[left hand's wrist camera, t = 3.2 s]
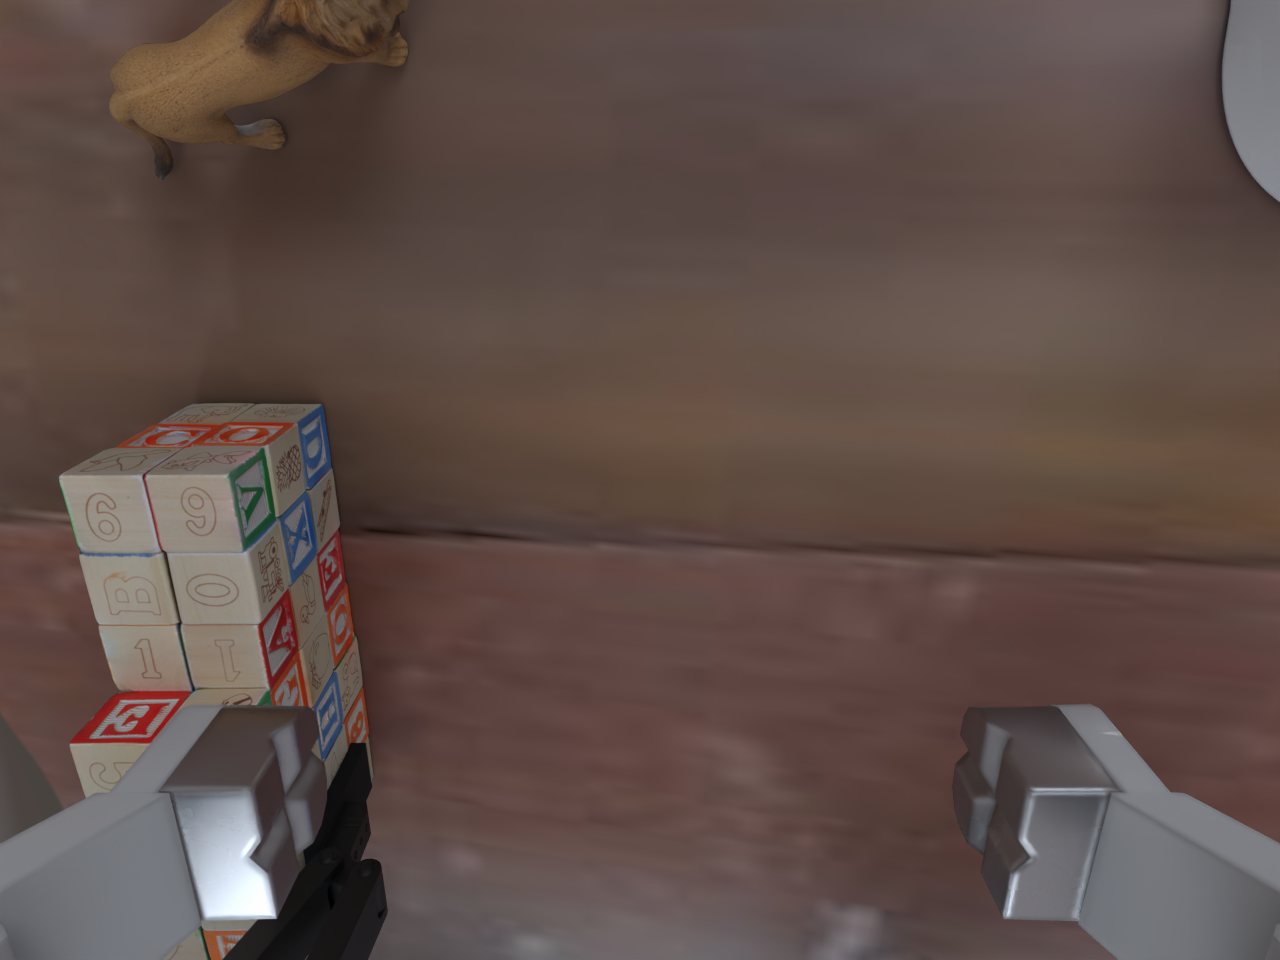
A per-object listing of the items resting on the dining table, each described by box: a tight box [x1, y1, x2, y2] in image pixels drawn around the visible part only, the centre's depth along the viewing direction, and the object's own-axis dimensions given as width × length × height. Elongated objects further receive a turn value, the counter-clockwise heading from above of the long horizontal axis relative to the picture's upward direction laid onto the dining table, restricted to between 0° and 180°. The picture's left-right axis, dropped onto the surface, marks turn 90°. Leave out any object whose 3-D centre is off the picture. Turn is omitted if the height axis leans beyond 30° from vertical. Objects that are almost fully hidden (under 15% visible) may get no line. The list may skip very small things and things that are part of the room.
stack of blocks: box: [59, 403, 374, 960], centre depth 36 cm, size 21×6×12 cm, turn 0°
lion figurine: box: [109, 0, 409, 180], centre depth 29 cm, size 15×5×9 cm, turn 126°
